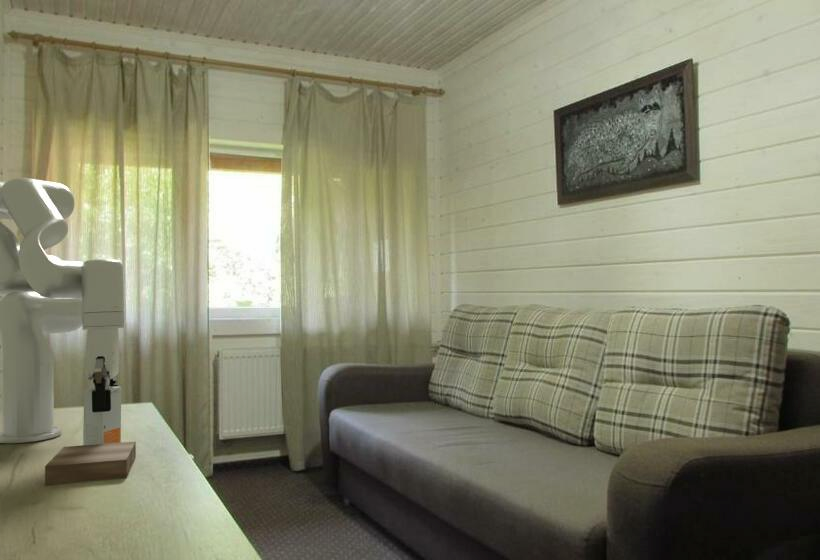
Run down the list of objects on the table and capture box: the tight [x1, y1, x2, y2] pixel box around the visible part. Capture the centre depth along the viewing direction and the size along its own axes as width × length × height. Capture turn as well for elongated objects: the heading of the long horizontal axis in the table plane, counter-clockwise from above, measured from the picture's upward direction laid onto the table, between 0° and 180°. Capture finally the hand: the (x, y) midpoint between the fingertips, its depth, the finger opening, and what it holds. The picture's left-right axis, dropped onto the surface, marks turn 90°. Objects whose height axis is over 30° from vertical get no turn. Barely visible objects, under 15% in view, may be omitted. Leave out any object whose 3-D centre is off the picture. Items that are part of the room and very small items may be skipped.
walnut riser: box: [44, 440, 137, 486], centre depth 110 cm, size 14×12×3 cm
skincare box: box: [82, 386, 122, 445], centre depth 126 cm, size 6×4×12 cm
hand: (105, 408), depth 126 cm, fingers open, 9 cm apart
